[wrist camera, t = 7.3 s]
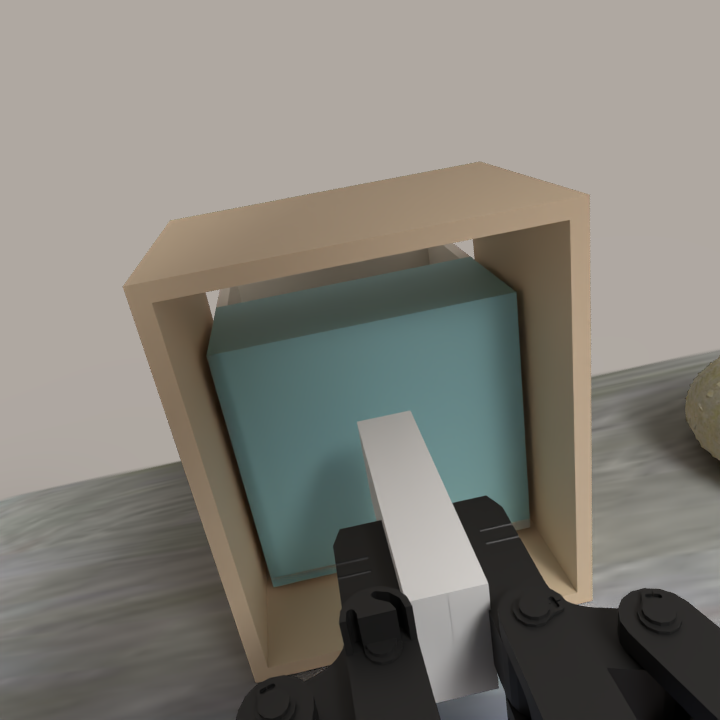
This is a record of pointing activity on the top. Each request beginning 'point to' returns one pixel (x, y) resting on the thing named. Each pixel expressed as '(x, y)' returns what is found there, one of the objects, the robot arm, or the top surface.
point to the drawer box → (367, 391)
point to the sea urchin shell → (705, 408)
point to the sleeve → (349, 245)
